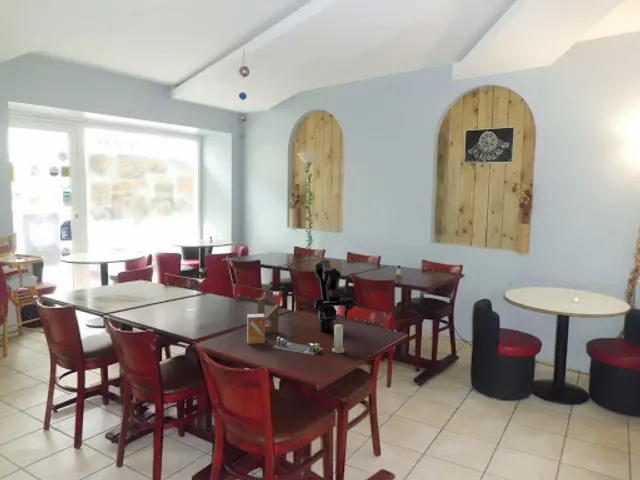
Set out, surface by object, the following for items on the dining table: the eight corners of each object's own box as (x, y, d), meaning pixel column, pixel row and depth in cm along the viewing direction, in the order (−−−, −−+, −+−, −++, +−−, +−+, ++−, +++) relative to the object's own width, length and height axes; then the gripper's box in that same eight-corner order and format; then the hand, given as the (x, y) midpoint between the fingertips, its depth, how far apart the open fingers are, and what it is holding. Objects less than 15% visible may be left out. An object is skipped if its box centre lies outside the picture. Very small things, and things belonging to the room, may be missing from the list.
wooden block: (278, 332, 243) (278, 298, 241) (258, 334, 239) (258, 299, 237) (276, 330, 246) (276, 296, 244) (256, 332, 242) (256, 298, 240)
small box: (247, 344, 222) (247, 317, 221) (246, 340, 229) (246, 314, 227) (264, 343, 224) (265, 316, 223) (263, 339, 230) (263, 313, 229)
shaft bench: (273, 347, 218) (273, 339, 217) (282, 342, 226) (283, 334, 225) (313, 355, 209) (313, 346, 208) (322, 349, 217) (322, 340, 216)
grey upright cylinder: (340, 348, 218) (341, 323, 217) (346, 352, 213) (347, 326, 212) (330, 350, 216) (330, 324, 215) (335, 353, 211) (335, 327, 210)
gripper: (315, 282, 223) (318, 310, 213) (353, 281, 225) (358, 309, 215) (313, 295, 231) (315, 323, 221) (350, 294, 234) (354, 322, 224)
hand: (336, 319), depth 220 cm, fingers open, 9 cm apart
